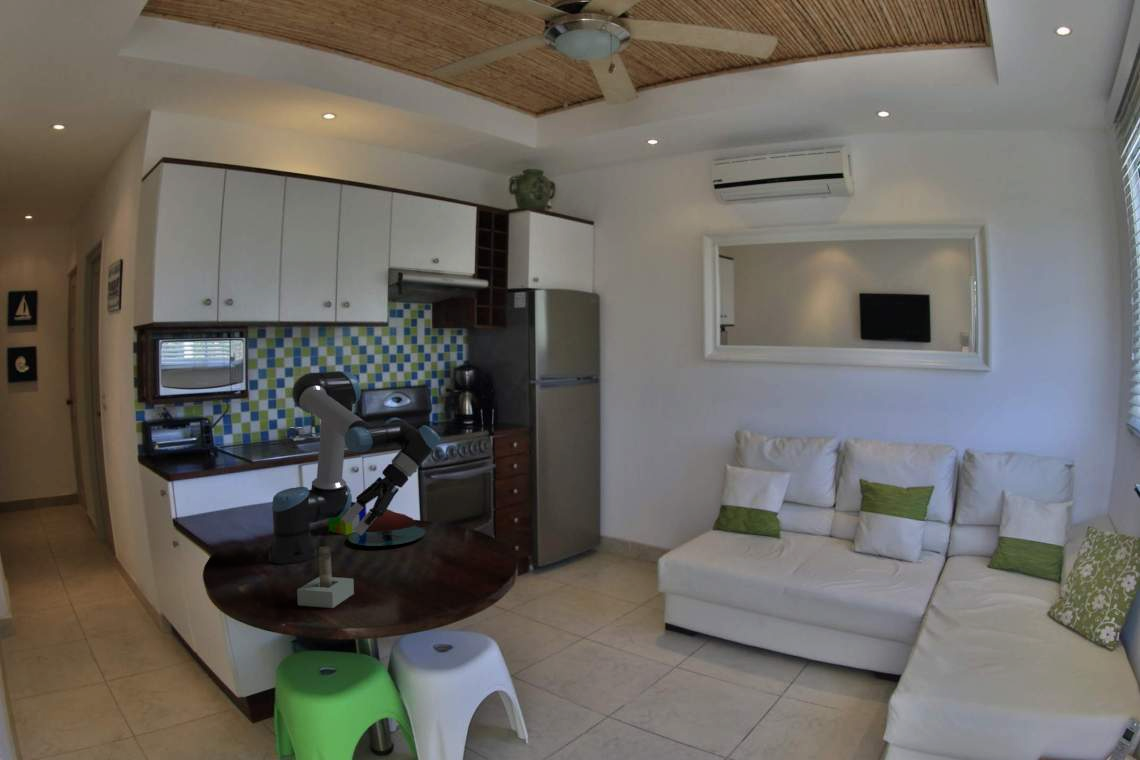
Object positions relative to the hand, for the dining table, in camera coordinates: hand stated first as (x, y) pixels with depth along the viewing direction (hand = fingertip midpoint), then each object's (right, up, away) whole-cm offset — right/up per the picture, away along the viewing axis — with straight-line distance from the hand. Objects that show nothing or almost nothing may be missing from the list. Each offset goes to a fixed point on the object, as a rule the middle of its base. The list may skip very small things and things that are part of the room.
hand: (350, 527), depth 197 cm
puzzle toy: (-24, -17, +71) cm, 77 cm away
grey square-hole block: (-6, -20, -3) cm, 21 cm away
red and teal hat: (-5, -17, +57) cm, 60 cm away
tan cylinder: (-6, -20, -3) cm, 21 cm away
